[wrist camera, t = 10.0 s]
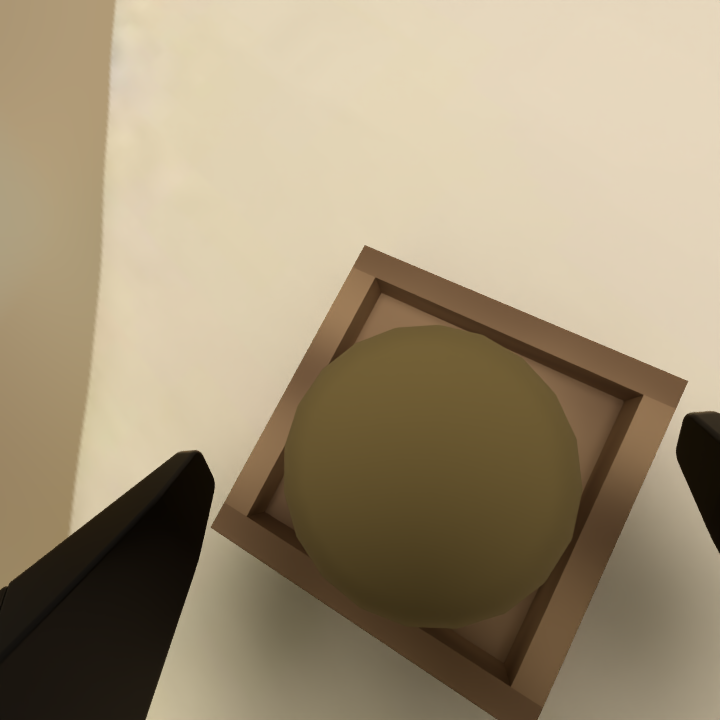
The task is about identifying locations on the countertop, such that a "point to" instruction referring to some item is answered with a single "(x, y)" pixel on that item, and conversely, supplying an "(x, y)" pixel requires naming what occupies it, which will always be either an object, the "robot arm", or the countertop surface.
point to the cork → (432, 476)
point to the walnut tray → (596, 457)
